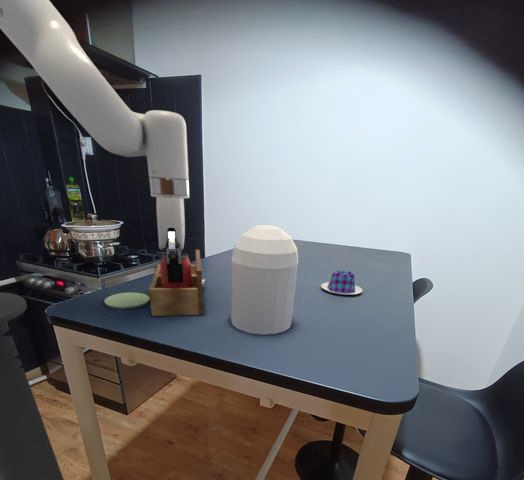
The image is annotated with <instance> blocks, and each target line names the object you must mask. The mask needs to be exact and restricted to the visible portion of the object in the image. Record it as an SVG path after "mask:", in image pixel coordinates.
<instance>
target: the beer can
mask: <svg viewBox="0 0 524 480" xmlns="http://www.w3.org/2000/svg"><path fill="white" fill-rule="evenodd" d="M176 253H177V254H178V252H176ZM181 264H182V265H183V283H169V282H168V275H167V252H164V253H162V254H161V260H160V269H161V279H162V288H192V279H191V265H192V264H191V261H190V259H189V254H188V253H187V252H183V251H182V252H181Z"/></svg>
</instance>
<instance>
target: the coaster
mask: <svg viewBox="0 0 524 480" xmlns="http://www.w3.org/2000/svg"><path fill="white" fill-rule="evenodd" d="M149 303H150V295H148V294H144V293H141V292H120V293H115V294H112V295H110V296H107V297H106V298H105V299H104V305H105V306H106V307H109V308H111V309H117V310H127V309H129V310H130V309H136V308H140V307H143V306H146V305H147V304H149Z"/></svg>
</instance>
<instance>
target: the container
mask: <svg viewBox="0 0 524 480" xmlns="http://www.w3.org/2000/svg"><path fill="white" fill-rule="evenodd" d="M298 264H299V253H298V248H297V245H296V243H295V242H294V240H293V238H292V236H291V235H289V234H288V233H287V232H286V231H284V230H283V229H282V228H281V227H279V226H273V225H271V224H270V225H269V224H264V225H262V224H261V225H255V226H253V227H251V228H250V229H248V230H247V231H245V232H244V233H242V234H241V236H240V237H239V238H238V240H237V242H236V243H235V244H234V247H233V253H232V256H231V264H230V265H231V268H230V269H231V270H230V271H231V273H230V274H231V275H230V277H231V278H230V279H231V282H230V321H231V322H230V323H231V324H232V326H233V327H235V328H236V329H237V330H239V331H242V332H245V333H247V334H252V335H253V334H254V335H263V336H264V335H277V334H279V333H284V332H286V331H287V330H289V329H290V328H291V325H292V320H293V311H294V303H295V302H294V301H295V291H296V283H297V276H298V275H297V274H298Z"/></svg>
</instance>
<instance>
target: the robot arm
mask: <svg viewBox="0 0 524 480" xmlns="http://www.w3.org/2000/svg"><path fill="white" fill-rule="evenodd" d="M0 30H1V31H2V32H3V34H4V35H5V36H6V37H7V38H8V39H9V41H10V42H11V43H12V44H13V46H15V47H16V48H17V50H18V51H19V52H20V53H21V54H22V55H23V57H25V59H26V60H27V61H28V63H30V65H31V66H32V67H33V69H34V71H35V72H36V73H37V74H38V75H39V77H40V78H42V80H43V81H44V83H45V84H46V85H47V86H48V87H49V89H50V90H51V91H52V92H53V94H54V95H55V97H56V98H57V99H58V100H59V101H60V102H61V104H62V105H63V106H64V107H65V108H66V110H68V112H69V113H70V114H71V115H72V117H74V119H75V120H76V121H77V122H78V123H79V124H80V125H81V126H82V128H83V129H84V130H85V131H86V132H87V133H88V134H89V135H90V136H91V137H92V138H93V140H95V142H96V143H97V144H98V145H99V146H101V148H103V149H104V150H106V151H108V152H109V153H112V154H114V155H118V156H121V157H125V158H134V157H146V161H147V171H148V181H149V190H150V192H149V193H150V197H151V198H152V197H153V198H155V199H156V202H155V204H156V205H155V208H156V223H157V236H158V249H159V250H160V251H163V250H164V249H165V248H166V249H165V250H166V253H167V275H168V282H169V283H183V265H182V264H181V252H182V253H183V249H184V247H185V239H186V237H185V236H186V220H185V219H186V217H185V199H190V179H189V178H190V177H189V176H190V175H189V174H190V173H189V159H188V158H189V155H188V136H187V124H186V119H185V118H184V116H182V115H181V114H180V113H177V112H174V111H168V110H161V109H160V110H159V109H158V110H157V109H154V110H153V109H152V110H148V111H146V112H144V113H141V112H140V113H139V112H136V111H135V112H134V111H132V110H131V109H130V108H129V106H128V105H127V104H126V103H125V101H123V99H122V98H121V97H120V95H119V94H118V93H117V92H116V90H115V89H114V88H113V87H112V86H111V85H110V83H109V82H108V80H107V79H106V77H105V76H103V75H102V73H101V71H100V70H99V69H98V68H97V66H96V65H95V64H94V62H93V61H92V60H91V58H90V57H89V56H88V55H87V54H86V52H85V50H84V48H82V46H81V45H80V43H79V41H78V39H77V36H76V35H75V32H74V31H73V29H72V28H71V26H70V24H69V23H68V22H67V21H66V19H65V18H64V17H63V16H62V15H61V13H60V12H59V10H58V9H57V8H56V7H55V5H53V3H52V2H51V1H50V0H0ZM176 252H178V254H177V253H176Z"/></svg>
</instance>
